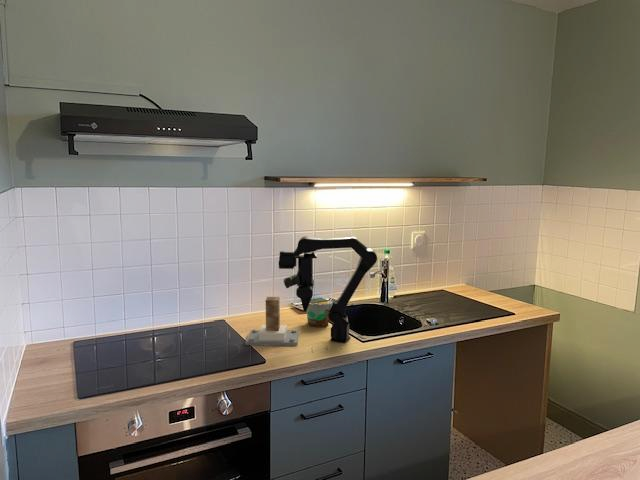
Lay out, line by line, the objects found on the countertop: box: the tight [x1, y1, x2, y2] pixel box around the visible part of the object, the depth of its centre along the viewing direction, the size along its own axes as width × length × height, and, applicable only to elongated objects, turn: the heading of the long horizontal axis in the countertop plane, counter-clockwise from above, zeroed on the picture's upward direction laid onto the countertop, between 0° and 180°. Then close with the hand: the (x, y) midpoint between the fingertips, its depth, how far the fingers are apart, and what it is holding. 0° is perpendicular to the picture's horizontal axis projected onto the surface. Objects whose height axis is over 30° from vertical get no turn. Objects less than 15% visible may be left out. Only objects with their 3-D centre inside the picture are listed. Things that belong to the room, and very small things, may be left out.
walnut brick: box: [265, 296, 281, 331], centre depth 197 cm, size 5×5×12 cm
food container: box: [306, 301, 331, 328], centre depth 215 cm, size 12×6×10 cm, turn 62°
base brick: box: [244, 324, 300, 346], centre depth 199 cm, size 20×14×4 cm
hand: (305, 307), depth 197 cm, fingers open, 9 cm apart
